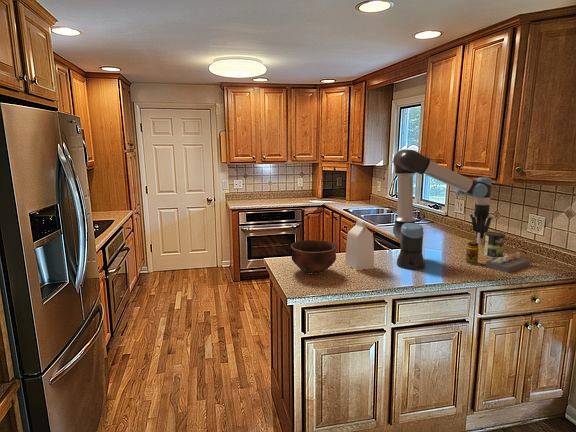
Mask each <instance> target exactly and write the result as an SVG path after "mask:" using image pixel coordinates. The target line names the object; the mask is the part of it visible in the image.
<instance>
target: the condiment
mask: <svg viewBox="0 0 576 432" xmlns="http://www.w3.org/2000/svg"><path fill="white" fill-rule="evenodd" d="M465 252H466V253H465V254H466V255H465V259H464V260H463V259H462V260H461V261H462V262H463V263H464V264H466V265H468V266H469V265H470V266H472V265H474V266H478V265H481V264H480V263H479V262H478V260H479V244H478V243H477V242H474V241H471V242H470V241H469V242H468V243H467V247H466V251H465Z"/></svg>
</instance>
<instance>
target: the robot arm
mask: <svg viewBox="0 0 576 432" xmlns="http://www.w3.org/2000/svg"><path fill="white" fill-rule="evenodd" d="M392 163H393V166H394V174H395V175H396V177H397V216H396V217H395V218H394V225H393V227H392V232H393V235H394V236H395V238H396V239H397V240H398V241H399V242H400V249H399V250H400V252H399V254H398V256H397V259H396V266H398V267H400V268H402V269H405V270H421V269H424V268H425V267H426V262H425V259H424V255H423V247H424V246H423V243H424V227H423V225H421V224H418V223H416V218H415V217H413V216H414V215H413V213H414V211H413V209H414V204H413V203H414V195H413V194H414V176H415V175H416V173H417V174H418V175H422V176H423V175H426V176H428V177H430V178H432V179H435V180H437V181H439V182H441V183H443V184H445V185H448V186H450V187H452V188H453V189H454V192H455V193H456V194H457V195H467V196H470V197H475V201H474V203H475V204H474V212H473V214H470V215H469V216H470V219H471V224H472V230H473V231H474V232H475V237H476V243H478V245H480V244H482V241H483V239H484V235H485V234H486V233H487V232H489V228H490V226H491V222H492V220H493V219H494V217H493V216H490V213H489V212H490V207H491V205H490V204H491V193H492V187H493V186H492V183H493V181H492V178H491V177H477V180H472V179H470V178H469V177H466V176H464V175H462V174H460V173H457V172H455V171H454V170H451V169H449V168H446V167H444V166H442V165H440V164H438V163H436V162H434V161H432V160H431V158H430V157H428V156H426V155H424V154H423V153H420V152H419V151H416V150H414V149H400V150H399V151H397V152H396V153H395V154H394V156H393V158H392Z"/></svg>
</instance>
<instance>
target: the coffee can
mask: <svg viewBox="0 0 576 432" xmlns="http://www.w3.org/2000/svg"><path fill="white" fill-rule="evenodd" d="M505 237H506V234H505V233H501V232H496V231H487V232H485V243H484V251H483V256H484V257H486V258H489V259H497V258H499V257H503V256H504V249H505V248H504V247H505Z"/></svg>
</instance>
